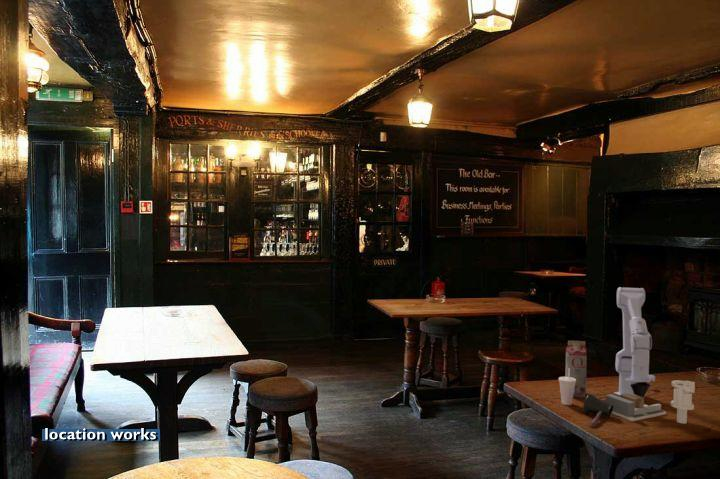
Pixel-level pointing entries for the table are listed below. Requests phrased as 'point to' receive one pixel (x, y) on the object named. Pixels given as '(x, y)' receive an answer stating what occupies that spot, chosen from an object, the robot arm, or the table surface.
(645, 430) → the table surface
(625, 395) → the gauge slider
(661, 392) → the table surface
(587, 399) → the coffee pot
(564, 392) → the smoothie
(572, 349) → the juice carton
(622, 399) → the gauge base
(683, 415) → the white stepped post
